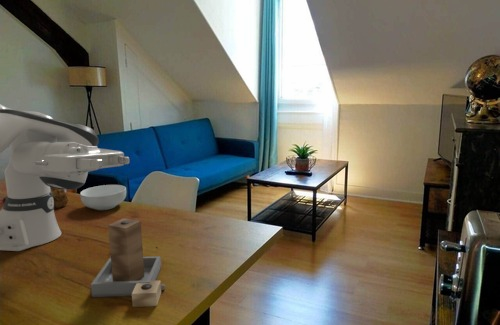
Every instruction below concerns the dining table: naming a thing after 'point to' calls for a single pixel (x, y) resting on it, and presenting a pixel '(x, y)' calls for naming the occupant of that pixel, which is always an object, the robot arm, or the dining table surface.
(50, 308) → the dining table surface
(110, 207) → the cereal bowl
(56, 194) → the stuffed squirrel
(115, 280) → the block
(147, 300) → the block
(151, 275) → the tray
